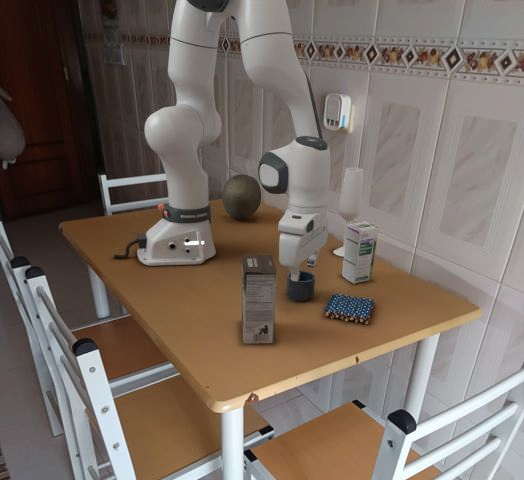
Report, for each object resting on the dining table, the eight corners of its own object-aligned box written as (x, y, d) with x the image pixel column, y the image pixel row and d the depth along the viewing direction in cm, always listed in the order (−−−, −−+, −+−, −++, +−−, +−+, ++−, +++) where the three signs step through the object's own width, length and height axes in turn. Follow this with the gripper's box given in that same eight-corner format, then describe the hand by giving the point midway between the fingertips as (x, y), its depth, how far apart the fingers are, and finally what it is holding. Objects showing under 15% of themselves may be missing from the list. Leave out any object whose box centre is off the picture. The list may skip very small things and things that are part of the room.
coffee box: (240, 323, 109) (241, 253, 100) (269, 322, 109) (272, 253, 101) (242, 344, 101) (243, 271, 92) (274, 343, 102) (277, 271, 93)
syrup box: (353, 284, 128) (361, 230, 120) (340, 275, 133) (347, 223, 125) (371, 280, 130) (379, 227, 123) (357, 272, 135) (365, 220, 127)
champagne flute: (344, 258, 144) (354, 173, 131) (328, 251, 148) (337, 168, 136) (360, 253, 147) (372, 170, 134) (344, 247, 152) (354, 165, 139)
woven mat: (369, 326, 109) (370, 318, 108) (322, 317, 112) (323, 309, 111) (375, 306, 118) (376, 298, 116) (332, 299, 120) (332, 291, 119)
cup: (292, 304, 117) (293, 283, 115) (282, 292, 123) (283, 272, 120) (317, 300, 119) (319, 280, 117) (306, 289, 125) (308, 269, 122)
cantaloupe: (213, 218, 173) (212, 174, 165) (243, 211, 181) (244, 168, 173) (239, 228, 164) (239, 182, 156) (270, 220, 172) (271, 176, 164)
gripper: (312, 203, 120) (308, 257, 127) (274, 225, 104) (272, 285, 111) (336, 206, 117) (331, 261, 124) (301, 230, 102) (298, 291, 109)
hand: (303, 273), depth 118 cm, fingers open, 8 cm apart
